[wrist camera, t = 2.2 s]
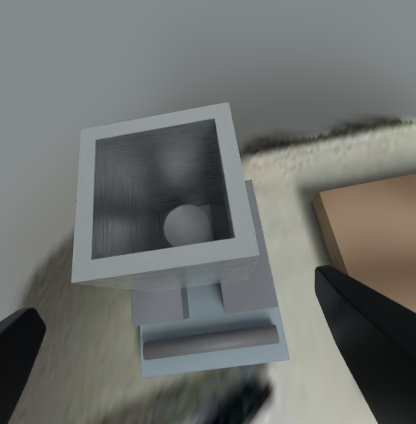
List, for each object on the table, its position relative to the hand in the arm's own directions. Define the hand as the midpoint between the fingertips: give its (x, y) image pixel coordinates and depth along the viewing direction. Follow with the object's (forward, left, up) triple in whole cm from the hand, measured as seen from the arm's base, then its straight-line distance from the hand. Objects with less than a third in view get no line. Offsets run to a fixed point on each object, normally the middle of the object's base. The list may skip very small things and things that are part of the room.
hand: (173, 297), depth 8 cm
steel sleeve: (+3, +2, -7) cm, 8 cm away
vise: (+1, +1, -11) cm, 11 cm away
